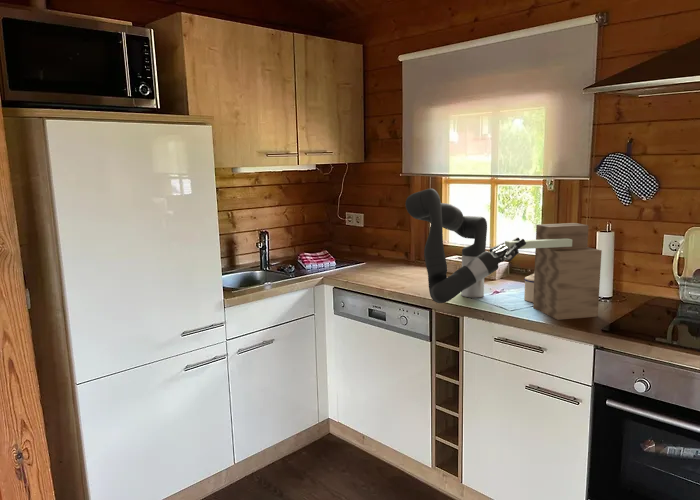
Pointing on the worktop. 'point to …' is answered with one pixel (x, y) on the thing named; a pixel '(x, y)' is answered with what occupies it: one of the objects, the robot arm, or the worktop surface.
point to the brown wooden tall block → (566, 273)
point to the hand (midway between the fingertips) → (521, 240)
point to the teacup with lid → (529, 288)
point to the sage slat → (543, 243)
